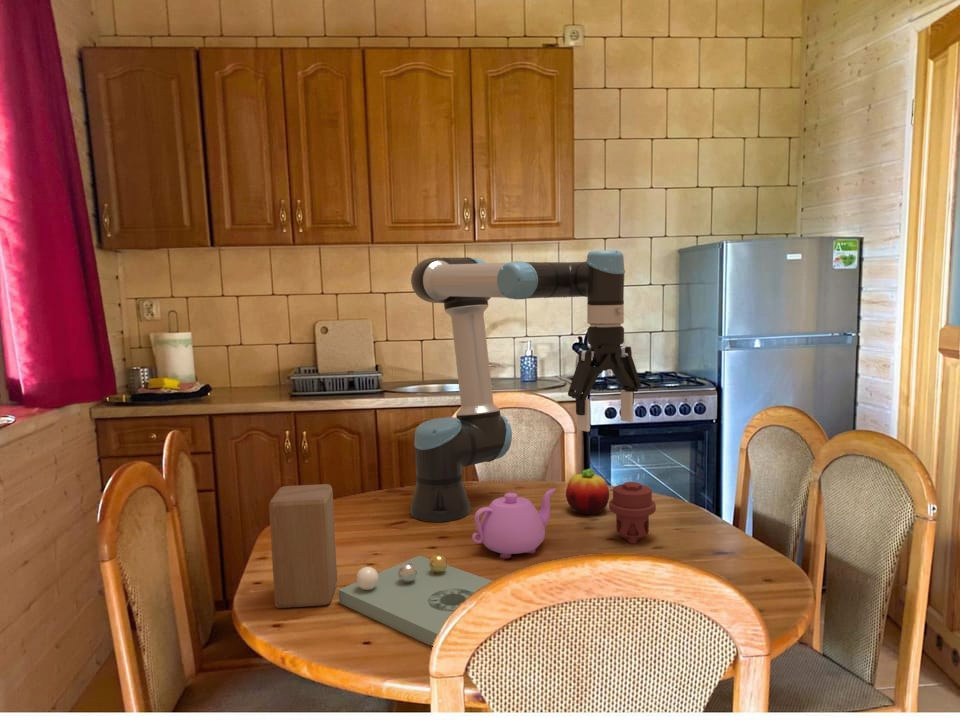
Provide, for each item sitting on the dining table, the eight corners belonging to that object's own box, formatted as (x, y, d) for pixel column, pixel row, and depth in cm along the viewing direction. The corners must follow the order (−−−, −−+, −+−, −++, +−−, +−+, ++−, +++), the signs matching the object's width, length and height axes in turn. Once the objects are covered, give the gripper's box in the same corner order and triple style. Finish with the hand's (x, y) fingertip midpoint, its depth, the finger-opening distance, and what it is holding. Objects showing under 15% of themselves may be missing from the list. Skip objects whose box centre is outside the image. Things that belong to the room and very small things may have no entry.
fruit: (561, 515, 165) (560, 476, 164) (572, 502, 175) (571, 465, 174) (604, 520, 161) (604, 479, 160) (613, 506, 171) (613, 468, 170)
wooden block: (285, 586, 129) (279, 485, 127) (338, 583, 130) (332, 482, 128) (274, 610, 120) (267, 501, 118) (331, 607, 120) (325, 498, 118)
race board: (339, 603, 122) (338, 589, 121) (419, 567, 137) (419, 555, 136) (440, 650, 104) (440, 635, 104) (520, 604, 119) (520, 590, 119)
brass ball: (425, 573, 128) (424, 555, 127) (438, 567, 130) (437, 549, 130) (438, 577, 125) (437, 559, 125) (451, 571, 128) (450, 554, 128)
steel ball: (394, 582, 124) (393, 564, 123) (408, 576, 126) (407, 558, 126) (407, 587, 121) (406, 569, 121) (421, 581, 124) (420, 562, 124)
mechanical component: (654, 531, 153) (657, 548, 143) (609, 529, 155) (609, 545, 145) (654, 478, 152) (656, 491, 142) (609, 477, 154) (608, 490, 144)
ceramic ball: (352, 589, 121) (351, 568, 121) (369, 582, 124) (368, 561, 124) (366, 596, 119) (365, 574, 118) (383, 588, 122) (382, 566, 121)
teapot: (542, 530, 156) (541, 479, 154) (573, 551, 143) (572, 495, 141) (461, 544, 148) (459, 491, 147) (485, 568, 135) (484, 509, 134)
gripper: (577, 329, 130) (577, 437, 132) (657, 322, 145) (657, 419, 147) (549, 328, 135) (550, 431, 138) (630, 321, 151) (629, 415, 153)
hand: (605, 425), depth 142 cm, fingers open, 13 cm apart
